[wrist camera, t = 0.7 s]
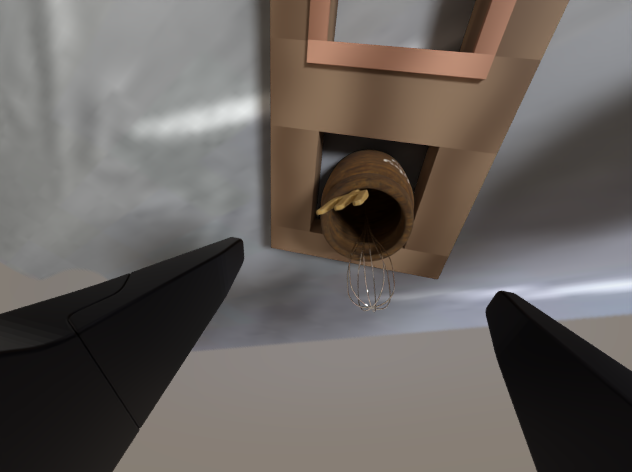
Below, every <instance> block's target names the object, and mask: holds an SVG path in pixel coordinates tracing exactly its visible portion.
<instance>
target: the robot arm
mask: <svg viewBox="0 0 632 472" xmlns="http://www.w3.org/2000/svg"><path fill="white" fill-rule="evenodd" d="M243 261H244V247H243V240H242V239H239V238H234V237H230V238H227V239H224V240H221V241H219V242H216V243H213V244H210V245H207V246H205V247H202V248H199V249H196V250H193V251H190V252H188V253H185V254H182V255H179V256H176V257H174V258H171V259H168V260H165V261H162V262H160V263H157V264H154V265H151V266H148V267H145V268H143V269H140V270H137V271H134V272H132V273H131V274H126V275H123V276H120V277H117V278H114V279H111V280H108V281H106V282H103V283H100V284H97V285H94V286H91V287H88V288H84V289H82V290H78V291H75V292H72V293H68V294H65V295H62V296H58V297H55V298H52V299H49V300H45V301H42V302H38V303H35V304H32V305H29V306H25V307H22V308H18V309H15V310H12V311H9V312H5V313H2V314H0V472H113V470H114V469H115V467H116V466H117V464H118V463H119V461H120V459H121V458H122V456H123V455H124V453H125V451H126V450H127V449H128V447H129V446H130V444H131V443H132V441H133V439H134V438H135V436H136V435H137V433H138V432H139V428H141V427H142V425H143V424H144V422H145V420H146V419H147V418H148V416H149V414H150V413H151V411H152V410H153V408H154V407H155V405H156V404H157V402H158V401H159V399H160V397H161V396H162V394H163V393H164V391H165V390H166V388H167V387H168V385H169V384H170V382H171V381H172V379H173V377H174V376H175V374H176V373H177V371H178V370H179V368H180V367H181V365H182V364H183V362H184V361H185V359H186V357H187V356H188V354H189V353H190V351H191V350H192V348H193V347H194V345H195V344H196V342H197V341H198V339H199V337H200V336H201V334H202V333H203V331H204V330H205V328H206V327H207V325H208V324H209V322H210V321H211V319H212V317H213V316H214V314H215V313H216V311H217V310H218V308H219V307H220V305H221V304H222V302H223V300H224V299H225V297H226V296H227V294H228V292H229V290H230V288H231V286H232V284H233V282H234V280H235V278H236V276H237V274H238V272H239V270H240V268H241V266H242V264H243ZM486 318H487V322H488V326H489V330H490V334H491V338H492V342H493V346H494V351H495V354H496V358H497V361H498V364H499V367H500V370H501V372H502V375H503V378H504V381H505V383H506V386H507V389H508V392H509V395H510V397H511V400H512V403H513V405H514V409H515V411H516V414H517V417H518V420H519V422H520V425H521V428H522V431H523V434H524V436H525V439H526V442H527V445H528V447H529V450H530V453H531V456H532V458H533V461H534V464H535V467H536V470H537V472H632V371H631V370H629V369H627V368H626V367H625V366H623V365H622V364H620V363H619V362H617V361H616V360H614V359H612V358H611V357H610V356H608V355H607V354H605V353H604V352H602V351H601V350H599V349H598V348H596V347H594V346H593V345H592V344H590V343H589V342H587V341H586V340H584V339H582V338H581V337H580V336H578V335H576V334H575V333H574V332H572V331H570V330H569V329H568V328H566V327H565V326H563V325H562V324H560V323H558V322H557V321H556V320H554V319H552V318H551V317H549V316H548V315H546V314H545V313H543V312H542V311H540V310H539V309H537V308H536V307H534V306H533V305H531V304H530V303H528V302H527V301H525V300H524V299H522V298H521V297H519V296H518V295H516V294H514V293H511V292H506V291H499V292H497V293H496V294H495V296H494V297H493V299H492V300H491V302H490V303H489V305H488V306H487V308H486Z"/></svg>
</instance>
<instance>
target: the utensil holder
mask: <svg viewBox="0 0 632 472" xmlns="http://www.w3.org/2000/svg"><path fill="white" fill-rule="evenodd" d="M413 209H414V196H413V191H412V187H411V185H410V182H409V180H408V178H407V176H406V174H405V172H404V170H403V168H402V167H401V165H400V164H399V163H398V162H397V161H396V160H395V159H394V158H393V157H392V156H390V155H388V154H386V153H384V152H382V151H378V150H373V149H366V150H360V151H356V152H353V153H351V154H349V155H348V156H346V157H345V158H343V159H342V160H341V161H340V162H339V163H338V164H337V165H336V167H335V168H334V170H333V171H332V173H331V175H330V177H329V178H328V180H327V183H326V185H325V187H324V190H323V194H322V199H321V208H319V209H318V210H317V211H316V214H317V215H321V216H320V218H321V229H322V233H323V235H324V237H325V239H326V241H327V242H328V244H329V245H330V246H331V247H332V248H333V249H334V250H335V251H336V252H337V253H339V254H340V255H342V256H344V257H346V258H348V259H349V266H348V270H349V281H350V262H351V260H355V261H360V262H364V275H365V262H371V264H372V261H378V260H382V263H383V275H384V266H385V263H384V261H383V259H385V258H387V257H389V256H391V255H393V254H395V253H396V252H397V251H399V250H400V249H401V248H402V247H403V246H404V245H405V243H406V242H407V240H408V239H409V237H410V235H411V232H412V229H413V222H414V210H413ZM350 259H351V260H350ZM389 259H390V257H389ZM390 262H391V259H390ZM391 265H392V262H391ZM359 268H360V263H359ZM385 268H386V266H385ZM392 270H393V265H392ZM386 271H387V269H386ZM372 272H373V266H372ZM387 276H388V272H387ZM358 277H359V269H358ZM384 279H385V275H384V278H383V286H384ZM393 279H394V270H393ZM373 281H374V273H373ZM388 281H389V276H388ZM365 284H366V290H367V283H366V275H365ZM350 286H351V281H350ZM383 286H382V290H383ZM357 287H358V281H357ZM351 288H352V286H351ZM352 290H353V288H352ZM382 290H381V293H382ZM394 290H395V279H394ZM394 290H393V293H394ZM389 291H390V282H389ZM347 292H348V271H347ZM353 292H354V290H353ZM381 293H380V295H379V298H380V296H381ZM393 293H392V295H393ZM354 294H355V292H354ZM374 294H375V283H374ZM367 295H368V290H367ZM392 295H391V292H390V298H389V299H388V300H387V301H386V302H388V301H389V303H388V305H389V304H390V300H391V297H392ZM348 296H349V292H348ZM355 296H356V297H357V295H356V294H355ZM349 298H350V296H349ZM357 298H358V303H359V300H360V299H359V292H358V297H357ZM379 298H378V299H377V301H378V300H379ZM368 299H369V295H368ZM350 300H351V301H352V299H351V298H350ZM360 301H361V300H360ZM377 301H376V296H375V304H374V305H375V306H374V305H373V306H374V307H373V306H371V303H370V299H369V303H370V306H368V305H367V304H365V303H364V302H362V301H361V302H362V303H363V304H365V305H366V306H368V307H362V306H360V304H359V305H357V304H355V303H354V302H353V301H352V302H353V303H354V304H355V305H357V306H359V307H360V308H361V307H362V308H369V309H368V310H370V309H371V308H372V311H373V312H375V311H376V309H377V310H382V309H385V308H386V307H388V305H387V306H386V307H385V308H381V309H378V308H376V307H379V306H381V305H383V304H385V303H386V302H385V303H383V304H381V305H378V306H376V303H377ZM362 308H361V310H363V309H362ZM373 309H375V311H374V310H373ZM368 310H363V311H368Z"/></svg>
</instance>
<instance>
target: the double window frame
mask: <svg viewBox="0 0 632 472" xmlns="http://www.w3.org/2000/svg"><path fill="white" fill-rule="evenodd" d="M568 2H569V0H476V2H475V5H474V8H473V11H472V14H471V17H470V20H469V23H468V26H467V29H466V33H465V36H464V39H463V42H462V45H461V48H460V51H459V52H453V51H441V50H429V49H417V48H405V47H393V46H380V45H368V44H356V43H344V42H334V36H335V26H336V16H337V7H338V0H270V91H271V248H276V249H281V250H287V251H292V252H297V253H302V254H307V255H313V256H318V257H323V258H328V259H334V260H339V261H344V262H349V259H348V258H346V257H344V256H342V255H340V254H339V253H337V252H336V251H335V250H334V249H333V248H332V247H331V246H330V245H329V244H328V242H327V241H326V239H325V237H324V235H323V233H322V229H321V219H315V218H316V209H317V199H318V189H319V180H320V170H321V161H322V151H323V141H324V132H328V133H336V134H344V135H352V136H360V137H367V138H375V139H383V140H391V141H399V142H406V143H414V144H422V145H429V147H428V150H427V153H426V156H425V159H424V163H423V166H422V169H421V172H420V175H419V178H418V181H417V184H416V187H415V190H414V194H413V196H414V209H413V210H414V222H413V229H412V232H411V235H410V237H409V239H408V240H407V242H406V243H405V245H404V246H403V247H402V248H401V249H400V250H399V251H397V252H396V253H395V254H393V255H391V256H389V257H390V259H391V262H392V265H393V270H394V271H396V272H402V273H407V274H412V275H417V276H423V277H428V278H433V279H438V278H439V276H440V274H441V272H442V269H443V267H444V265H445V263H446V261H447V259H448V257H449V255H450V252H451V250H452V248H453V246H454V244H455V242H456V240H457V238H458V235H459V233H460V231H461V229H462V227H463V225H464V223H465V221H466V218H467V216H468V214H469V212H470V210H471V208H472V206H473V204H474V201H475V199H476V197H477V195H478V193H479V191H480V189H481V187H482V185H483V182H484V180H485V178H486V176H487V174H488V172H489V170H490V168H491V165H492V163H493V161H494V159H495V157H496V155H497V153H498V151H499V148H500V146H501V144H502V142H503V140H504V138H505V136H506V134H507V131H508V129H509V127H510V125H511V123H512V121H513V119H514V117H515V115H516V112H517V110H518V108H519V106H520V104H521V102H522V100H523V98H524V95H525V93H526V91H527V89H528V87H529V85H530V83H531V81H532V78H533V76H534V74H535V72H536V70H537V68H538V66H539V64H540V61H541V59H542V57H543V55H544V53H545V51H546V49H547V47H548V45H549V42H550V40H551V38H552V36H553V34H554V32H555V30H556V28H557V25H558V23H559V21H560V19H561V17H562V15H563V13H564V11H565V8H566V6H567V4H568ZM389 257H387V258H385V259H383V261H384V263H385V266H386V268H385V266H384V269H387V270H391V271H393V270H392V265H391V262H390V259H389ZM350 260H351V259H350ZM350 263H355V264H359V263H360V265H364V262H360V261H355V260H351V262H350ZM365 266H370V267H372V266H373V267H375V268H381V269H383V263H382V260H378V261H372V264H371V262H365Z"/></svg>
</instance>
